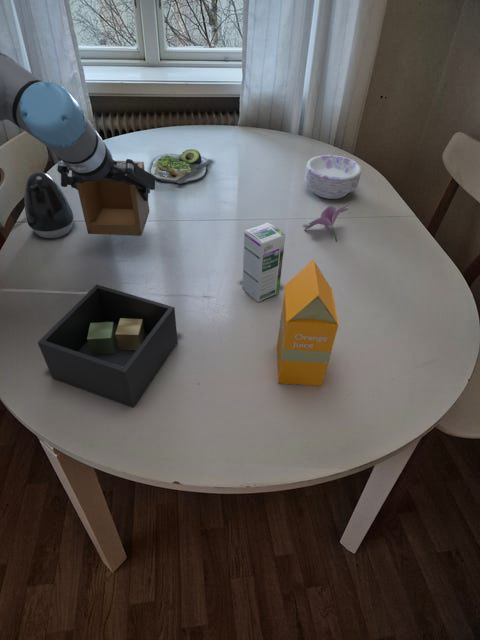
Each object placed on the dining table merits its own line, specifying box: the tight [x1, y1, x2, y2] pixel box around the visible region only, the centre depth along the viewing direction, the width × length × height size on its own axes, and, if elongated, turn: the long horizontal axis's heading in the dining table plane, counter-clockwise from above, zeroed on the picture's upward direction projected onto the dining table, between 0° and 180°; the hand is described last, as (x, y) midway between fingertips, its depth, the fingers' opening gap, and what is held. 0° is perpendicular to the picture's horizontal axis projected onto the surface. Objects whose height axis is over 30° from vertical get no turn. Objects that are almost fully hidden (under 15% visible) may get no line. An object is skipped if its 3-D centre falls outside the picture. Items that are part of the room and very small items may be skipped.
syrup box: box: [241, 221, 286, 303], centre depth 86 cm, size 6×6×14 cm
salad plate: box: [150, 149, 213, 185], centre depth 129 cm, size 19×18×5 cm
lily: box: [304, 203, 351, 243], centre depth 105 cm, size 12×12×10 cm
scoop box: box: [76, 160, 150, 237], centre depth 93 cm, size 12×11×12 cm
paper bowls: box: [304, 154, 362, 200], centre depth 122 cm, size 15×15×8 cm
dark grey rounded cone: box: [23, 171, 75, 239], centre depth 99 cm, size 10×10×15 cm
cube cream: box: [115, 318, 145, 350], centre depth 76 cm, size 4×4×4 cm
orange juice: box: [276, 258, 340, 387], centre depth 69 cm, size 8×9×20 cm
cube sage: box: [87, 322, 117, 355], centre depth 76 cm, size 4×4×4 cm
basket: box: [37, 283, 179, 408], centre depth 73 cm, size 16×16×9 cm
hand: (118, 194), depth 95 cm, fingers closed on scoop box, 12 cm apart
